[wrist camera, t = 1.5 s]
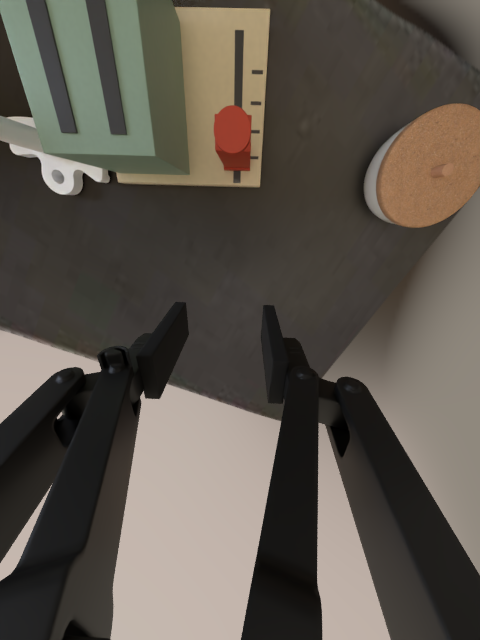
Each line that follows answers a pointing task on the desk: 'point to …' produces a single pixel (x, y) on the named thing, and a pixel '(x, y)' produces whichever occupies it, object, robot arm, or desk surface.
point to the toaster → (141, 84)
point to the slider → (233, 138)
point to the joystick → (47, 157)
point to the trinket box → (426, 168)
